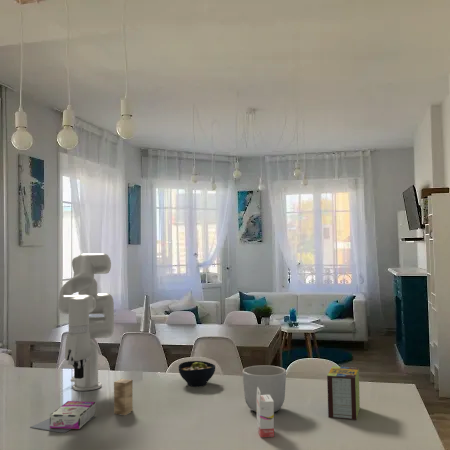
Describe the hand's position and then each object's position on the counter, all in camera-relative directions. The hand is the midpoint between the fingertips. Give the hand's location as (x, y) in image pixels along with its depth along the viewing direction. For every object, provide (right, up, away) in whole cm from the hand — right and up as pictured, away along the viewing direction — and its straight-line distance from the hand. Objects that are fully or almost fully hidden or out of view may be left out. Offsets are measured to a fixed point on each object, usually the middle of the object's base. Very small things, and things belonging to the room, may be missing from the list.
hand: (78, 377), depth 194 cm
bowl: (+43, -16, +41) cm, 61 cm away
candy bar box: (+1, -11, 0) cm, 11 cm away
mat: (-3, -14, -9) cm, 17 cm away
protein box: (+101, -13, -1) cm, 102 cm away
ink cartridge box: (+70, -12, -22) cm, 74 cm away
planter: (+71, -13, +3) cm, 73 cm away
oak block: (+17, -14, +2) cm, 22 cm away
